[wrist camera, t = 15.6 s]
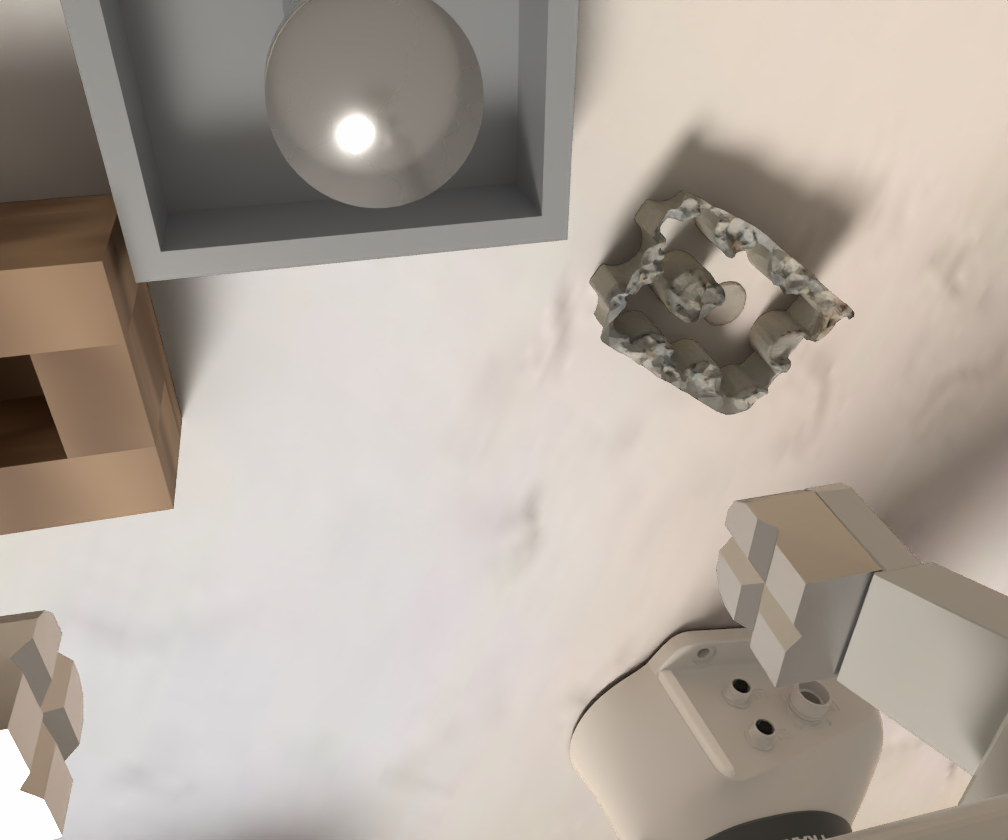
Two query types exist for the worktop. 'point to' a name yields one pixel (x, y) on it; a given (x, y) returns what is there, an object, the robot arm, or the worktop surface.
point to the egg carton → (710, 305)
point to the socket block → (79, 372)
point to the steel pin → (372, 97)
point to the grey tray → (264, 170)
